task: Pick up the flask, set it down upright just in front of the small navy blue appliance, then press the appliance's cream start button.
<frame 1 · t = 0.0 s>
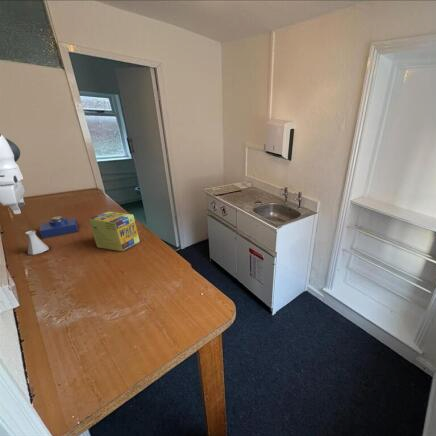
hand: (20, 209, 94), 24 cm above the table, tool pointing down, fingers open, 8 cm apart
appliance: (61, 231, 128), on the table
protein box: (119, 244, 118), on the table
flask: (38, 251, 109), on the table
start button: (57, 219, 127), point 6 cm above the table, slide at 0.1 cm
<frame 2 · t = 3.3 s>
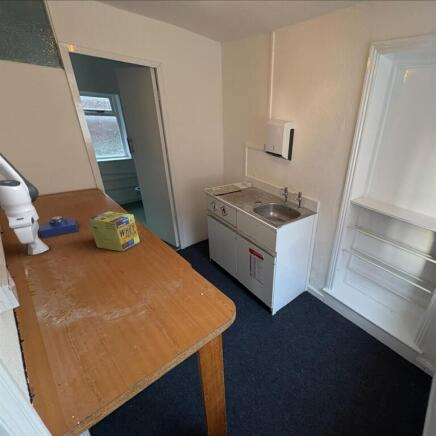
hand: (35, 244, 108), 4 cm above the table, tool pointing down, fingers closed on flask, 5 cm apart
flask: (38, 251, 109), on the table, touching gripper
everything else where it was.
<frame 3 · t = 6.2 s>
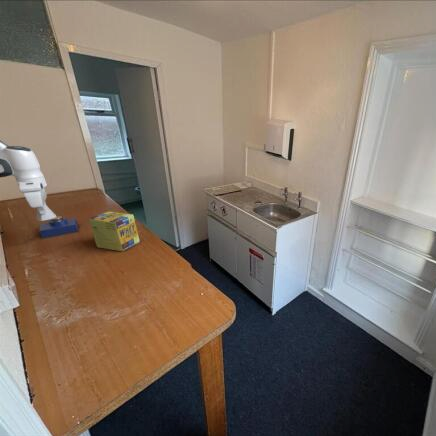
hand: (43, 211, 111), 16 cm above the table, tool pointing down, fingers closed on flask, 5 cm apart
flask: (46, 218, 113), point 13 cm above the table, touching gripper
everything else where it was.
when the fingers open (3 cm above the table, at t = 9.6 s): flask stays where it is, on the table.
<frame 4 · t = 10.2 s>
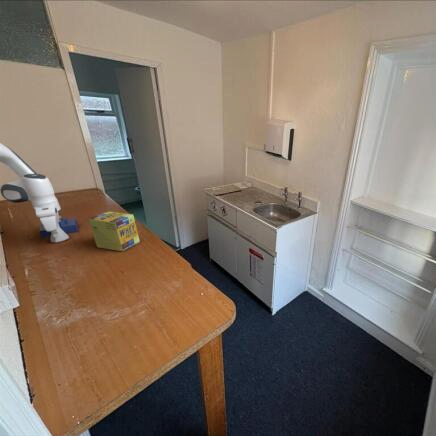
hand: (57, 232, 118), 4 cm above the table, tool pointing down, fingers open, 8 cm apart
flask: (60, 239, 120), on the table
everything else where it was.
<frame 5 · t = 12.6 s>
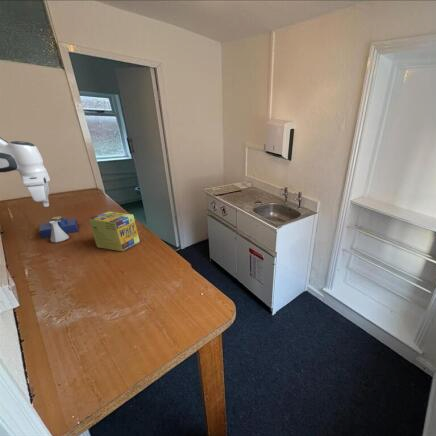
hand: (47, 205, 113), 18 cm above the table, tool pointing down, fingers closed
nothing on the table moved.
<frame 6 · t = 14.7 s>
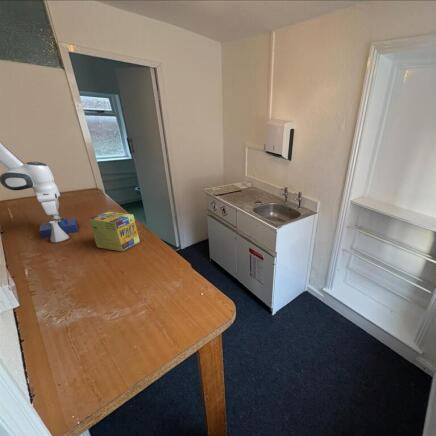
hand: (57, 217, 127), 7 cm above the table, tool pointing down, fingers closed, pressing on start button
start button: (57, 219, 127), point 6 cm above the table, slide at -0.1 cm, touching gripper
everything else where it was.
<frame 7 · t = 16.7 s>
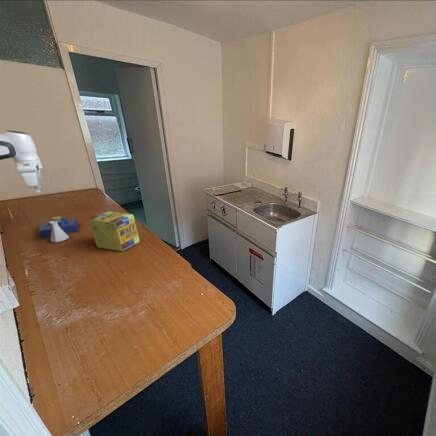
hand: (39, 192, 121), 22 cm above the table, tool pointing down, fingers closed
start button: (57, 219, 127), point 6 cm above the table, slide at 0.1 cm
everything else where it was.
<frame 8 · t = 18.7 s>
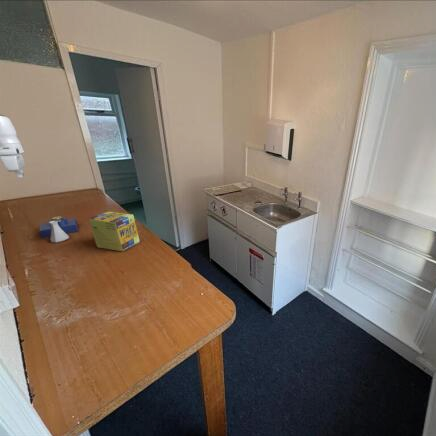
hand: (21, 177, 119), 29 cm above the table, tool pointing down, fingers closed
nothing on the table moved.
at the end: flask inside the target area (0.6 cm from its centre), on the table; flask tilted 0°; start button pushed in 1.1 cm at the most during the clip, back to where it started at the end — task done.
